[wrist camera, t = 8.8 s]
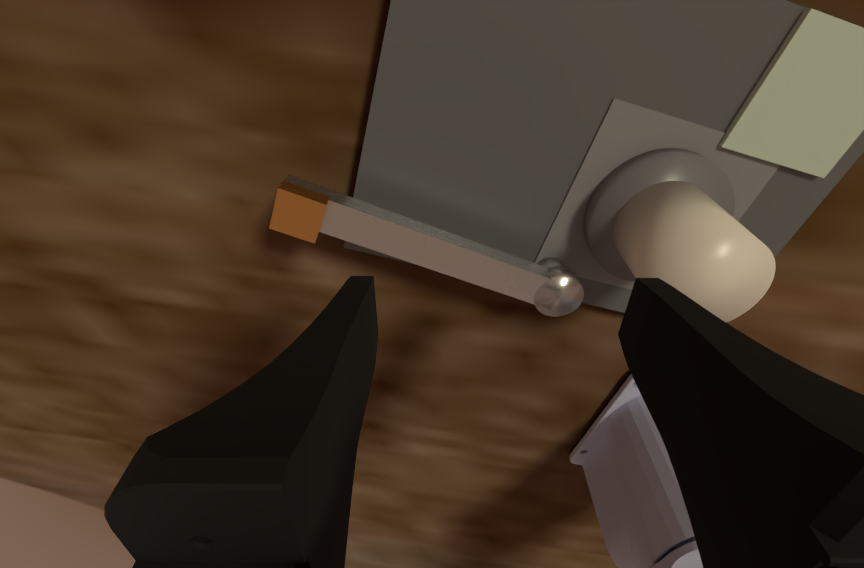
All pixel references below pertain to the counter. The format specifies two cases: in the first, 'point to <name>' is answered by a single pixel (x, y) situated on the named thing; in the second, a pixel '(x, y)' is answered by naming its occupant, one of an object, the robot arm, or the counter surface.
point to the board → (569, 117)
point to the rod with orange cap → (421, 245)
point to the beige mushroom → (678, 231)
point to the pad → (806, 98)
